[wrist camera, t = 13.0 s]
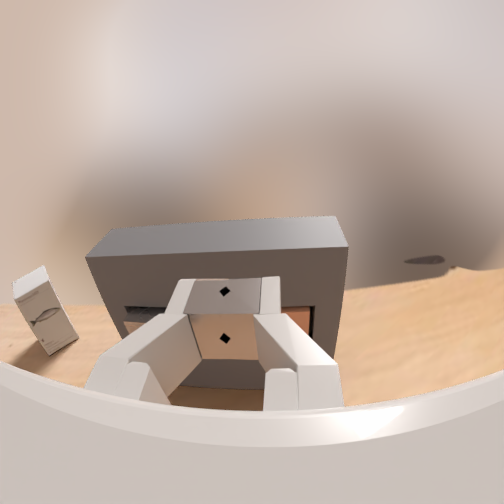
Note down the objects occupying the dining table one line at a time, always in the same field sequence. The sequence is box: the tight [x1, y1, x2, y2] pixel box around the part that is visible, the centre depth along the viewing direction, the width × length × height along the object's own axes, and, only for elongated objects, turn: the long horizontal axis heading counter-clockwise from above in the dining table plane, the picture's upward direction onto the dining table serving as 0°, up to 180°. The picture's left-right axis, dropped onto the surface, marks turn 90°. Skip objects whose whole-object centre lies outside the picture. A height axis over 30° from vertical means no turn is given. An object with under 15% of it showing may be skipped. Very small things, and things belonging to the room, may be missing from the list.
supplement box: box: [12, 265, 79, 356], centre depth 39 cm, size 7×7×13 cm
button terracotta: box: [281, 306, 310, 335], centre depth 28 cm, size 3×5×5 cm, turn 86°
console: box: [85, 216, 348, 389], centre depth 31 cm, size 6×24×20 cm, turn 86°
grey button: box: [123, 306, 167, 335], centre depth 28 cm, size 3×5×5 cm, turn 86°
